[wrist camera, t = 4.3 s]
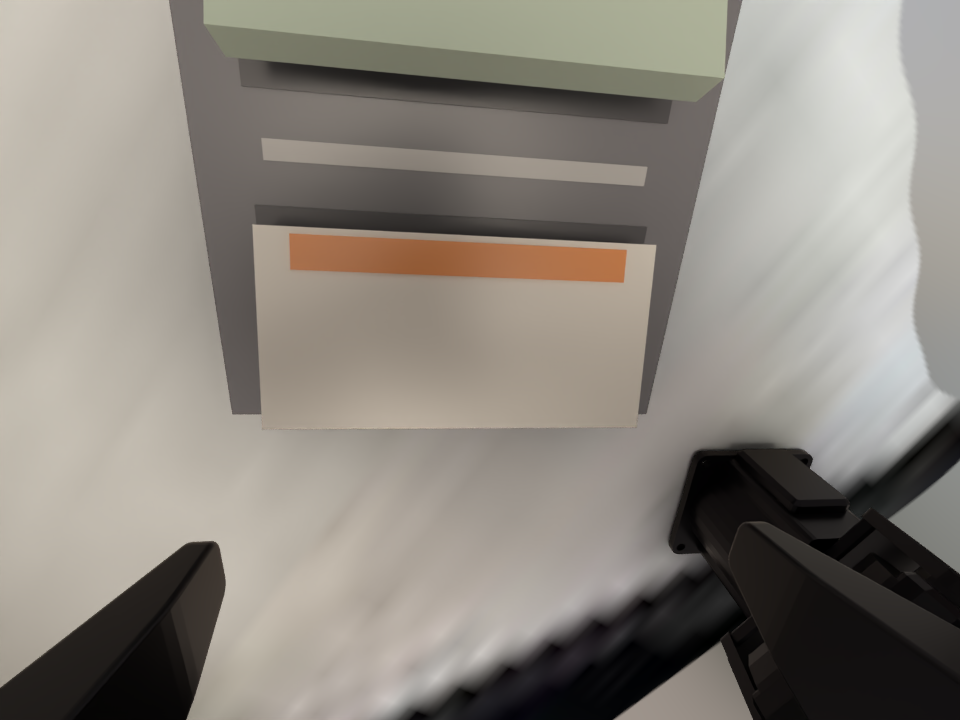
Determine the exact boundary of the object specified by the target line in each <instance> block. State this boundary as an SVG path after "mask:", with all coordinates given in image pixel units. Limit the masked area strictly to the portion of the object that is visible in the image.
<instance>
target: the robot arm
mask: <svg viewBox="0 0 960 720" xmlns="http://www.w3.org/2000/svg"><path fill="white" fill-rule="evenodd" d="M704 460H706V461H705V462H704V463H702V462H703V461H704ZM812 460H813V458H812V456H811V455H809V454H808V453H807V452H806V451H804V450H786V449H744V450H740V451H702V452H699V453H697V454H696V455H695V456H694V458H693V460H692V464H691V467H690V471H689V474H688V478H687V481H686V485H685V488H684V492H683V495H682V499H681V502H680V506H679V509H678V512H677V516H676V519H675V523H674V526H673V530H672V533H671V537H670V540H669V546H670V548H671V549H672V551H673V552H674V553H676V554H692V553H701V554H702V555H703V557H704V558H705V560H706V561H707V562H708V564H709V565H710V567H711V568H712V569H713V571H714V572H715V574H716V575H717V576H718V578H719V579H720V581H721V582H722V583H723V585H724V586H725V588H726V589H727V590H728V592H729V593H730V595H731V596H732V597H733V599H734V600H735V602H736V603H737V605H738V606H739V607H740V609H741V610H742V612H743V613H744V614H745V616H746V617H747V619H746V620H745V621H744V622H743V623H742V624H741V625H740V626H738V627H737V628H736V629H735V630H734V631H733V632H730V631H729V632H728V633H727V634H725V635H724V636H723V637H722V638H721V639H720V640H721V643H722V645H723V647H724V650H725V652H726V655H727V657H728V661H729V663H730V666H731V668H732V671H733V673H734V675H735V677H736V680H737V682H738V685H739V687H740V689H741V692H742V694H743V696H744V699H745V701H746V704H747V706H748V708H749V711H750V713H751V715H752V718H753V720H960V574H959V573H958V572H956V571H955V570H954V569H953V568H951V567H950V566H949V565H947V564H946V563H945V562H943V561H942V560H941V559H940V558H938V557H937V556H935V555H934V554H933V553H932V552H930V551H929V550H928V549H926V548H925V547H924V546H922V545H921V544H920V543H918V542H917V541H916V540H914V539H913V538H912V537H910V536H909V535H908V534H906V533H905V532H904V531H902V530H901V529H900V528H898V527H897V526H895V525H894V524H893V523H892V522H890V521H889V520H887V519H886V518H885V517H883V516H882V515H881V514H879V513H878V512H877V511H875V510H874V509H873V508H870V509H869V510H868V511H866V512H865V513H864V514H863V515H862V516H861V517H863V519H861V520H860V519H859V518H858V517H857V516H855V515H854V514H853V513H852V512H851V511H849V510H848V508H849V505H850V502H849V501H848V500H847V498H846V497H845V496H843V495H842V494H841V493H840V492H838V491H837V490H836V489H835V488H833V487H832V486H831V485H830V484H828V483H827V482H826V481H825V480H823V479H822V478H821V477H820V476H818V475H817V474H816V473H815V472H813V471H812V470H811V469H810V466H811V464H812ZM225 586H226V580H225V574H224V569H223V563H222V558H221V553H220V548H219V545H218V544H217V543H216V542H214V541H203V542H190V543H187V544H185V545H184V546H182V547H181V548H180V549H178V550H177V551H176V552H175V553H173V554H172V555H171V556H169V557H168V558H167V559H166V560H164V561H163V562H162V563H160V564H159V565H158V566H156V567H155V568H154V569H153V570H151V571H150V572H149V573H147V574H146V575H145V576H144V577H142V578H141V579H140V580H138V581H137V582H136V583H135V584H133V585H132V586H131V587H129V588H128V589H127V590H126V591H124V592H123V593H122V594H120V595H119V596H118V597H117V598H115V599H114V600H113V601H111V602H110V603H109V604H108V605H106V606H105V607H104V608H102V609H101V610H100V611H99V612H97V613H96V614H95V615H93V616H92V617H91V618H89V619H88V620H87V621H86V622H84V623H83V624H82V625H80V626H79V627H78V628H77V629H75V630H74V631H73V632H71V633H70V634H69V635H68V636H66V637H65V638H64V639H62V640H61V641H60V642H59V643H57V644H56V645H55V646H53V647H52V648H51V649H50V650H48V651H47V652H46V653H44V654H43V655H42V656H41V657H39V658H38V659H37V660H35V661H34V662H33V663H32V664H30V665H29V666H28V667H26V668H25V669H24V670H23V671H21V672H20V673H19V674H17V675H16V676H15V677H13V678H12V679H11V680H10V681H8V682H7V683H6V684H4V685H3V686H2V687H1V688H0V720H186V719H187V716H188V714H189V711H190V708H191V705H192V703H193V700H194V697H195V694H196V690H197V687H198V684H199V681H200V677H201V674H202V670H203V667H204V663H205V660H206V656H207V653H208V649H209V646H210V642H211V639H212V635H213V632H214V628H215V625H216V622H217V618H218V615H219V611H220V608H221V604H222V601H223V597H224V593H225Z"/></svg>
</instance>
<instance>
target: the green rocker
mask: <svg viewBox="0 0 960 720" xmlns="http://www.w3.org/2000/svg"><path fill="white" fill-rule="evenodd" d="M727 5H728V0H203V6H204V25H205V27H206V28H207V30H208V31H209V33H210V34H211V36H212V37H213V39H214V40H215V42H216V43H217V45H218V46H219V48H220V49H221V51H222V52H223V54H224V55H225V57H232V58H242V59H253V60H263V61H273V62H284V63H294V64H305V65H315V66H325V67H336V68H346V69H357V70H367V71H377V72H388V73H398V74H409V75H419V76H429V77H440V78H450V79H461V80H471V81H481V82H492V83H502V84H513V85H523V86H533V87H544V88H554V89H565V90H575V91H585V92H596V93H606V94H617V95H627V96H637V97H648V98H658V99H669V100H679V101H689V102H697V101H698V100H699V99H700V98H702V97H703V96H704V95H705V94H706V93H707V92H709V91H710V90H711V89H712V88H713V87H715V86H716V85H717V84H718V83H719V82H721V81H722V80H723V79H724V78H725V54H726V29H727Z"/></svg>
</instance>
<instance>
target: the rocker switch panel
mask: <svg viewBox="0 0 960 720" xmlns="http://www.w3.org/2000/svg"><path fill="white" fill-rule="evenodd" d="M169 3H170V10H171V17H172V23H173V30H174V36H175V43H176V49H177V56H178V62H179V69H180V75H181V82H182V88H183V95H184V101H185V108H186V114H187V121H188V128H189V134H190V141H191V147H192V154H193V160H194V167H195V173H196V180H197V186H198V193H199V199H200V206H201V212H202V219H203V225H204V232H205V239H206V245H207V252H208V258H209V265H210V271H211V278H212V284H213V291H214V297H215V304H216V310H217V317H218V323H219V330H220V336H221V343H222V350H223V356H224V363H225V369H226V376H227V382H228V389H229V395H230V402H231V408H232V414H261V394H260V374H259V353H258V332H257V311H256V290H255V269H254V249H253V228H252V224H255V225H274V226H294V227H313V228H333V229H352V230H372V231H391V232H411V233H431V234H450V235H470V236H489V237H509V238H528V239H548V240H567V241H587V242H606V243H626V244H646V245H656V254H655V263H654V272H653V281H652V290H651V300H650V309H649V318H648V327H647V336H646V346H645V355H644V364H643V373H642V382H641V392H640V401H639V410H638V414H646V413H647V408H648V404H649V400H650V395H651V391H652V387H653V383H654V378H655V374H656V370H657V365H658V361H659V357H660V352H661V348H662V344H663V339H664V335H665V331H666V327H667V322H668V318H669V314H670V309H671V305H672V301H673V296H674V292H675V288H676V283H677V279H678V275H679V270H680V266H681V262H682V258H683V253H684V249H685V245H686V240H687V236H688V232H689V227H690V223H691V219H692V214H693V210H694V206H695V202H696V197H697V193H698V189H699V184H700V180H701V176H702V171H703V167H704V163H705V158H706V154H707V150H708V146H709V141H710V137H711V133H712V128H713V124H714V120H715V115H716V111H717V107H718V102H719V98H720V94H721V90H722V85H723V81H724V79H723V80H722V81H721V82H719V83H718V84H717V85H716V86H715V87H713V88H712V89H711V90H710V91H709V92H707V93H706V94H705V95H704V96H703V97H702V98H700V99H699V100H698V101H697V102H689V101H679V100H669V99H658V98H648V97H637V96H627V95H617V94H606V93H596V92H585V91H575V90H565V89H554V88H544V87H533V86H523V85H513V84H502V83H492V82H481V81H471V80H461V79H450V78H440V77H429V76H419V75H409V74H398V73H388V72H377V71H367V70H357V69H346V68H336V67H325V66H315V65H305V64H294V63H284V62H273V61H263V60H253V59H242V58H232V57H225V55H224V54H223V52H222V51H221V49H220V48H219V46H218V45H217V43H216V42H215V40H214V39H213V37H212V36H211V34H210V33H209V31H208V30H207V28H206V27H205V25H204V6H203V0H169ZM741 3H742V0H728V5H727V29H726V54H725V72H726V68H727V64H728V59H729V55H730V51H731V46H732V42H733V38H734V33H735V29H736V25H737V21H738V16H739V12H740V8H741Z"/></svg>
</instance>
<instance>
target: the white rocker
mask: <svg viewBox="0 0 960 720" xmlns="http://www.w3.org/2000/svg"><path fill="white" fill-rule="evenodd" d="M252 228H253V249H254V269H255V290H256V311H257V332H258V353H259V374H260V394H261V415H262V429H441V428H637V419H638V410H639V401H640V392H641V382H642V373H643V364H644V355H645V346H646V336H647V327H648V318H649V309H650V300H651V290H652V281H653V272H654V263H655V254H656V245H646V244H626V243H606V242H587V241H567V240H548V239H528V238H509V237H489V236H470V235H450V234H431V233H411V232H391V231H372V230H352V229H333V228H313V227H294V226H274V225H255V224H252Z"/></svg>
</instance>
